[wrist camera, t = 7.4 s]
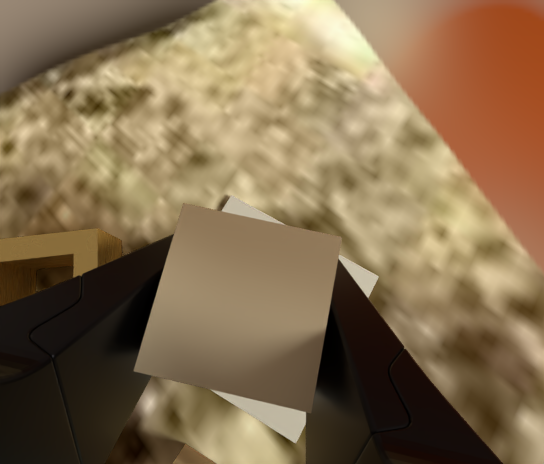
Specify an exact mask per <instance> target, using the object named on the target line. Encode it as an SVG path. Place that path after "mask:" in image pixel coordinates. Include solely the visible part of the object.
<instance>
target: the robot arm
mask: <svg viewBox="0 0 544 464" xmlns="http://www.w3.org/2000/svg"><path fill="white" fill-rule="evenodd" d="M173 236H174V234H173V235H170V236H168V237H166V238H163V239H161V240H159V241H157V242H154V243H152V244H150V245H147V246H145V247H143V248H140V249H138V250H136V251H134V252H131V253H129V254H127V255H124V256H122V257H120V258H117V259H115V260H113V261H111V262H108V263H106V264H104V265H101V266H99V267H97V268H94V269H92V270H90V271H87V272H85V273H83V274H82V277H81V275H78V276H76V277H73V278H71V279H69V280H67V281H64V282H62V283H59V284H57V285H55V286H52V287H50V288H47V289H45V290H42V291H40V292H37V293H35V294H32V295H29V296H27V297H24V298H21V299H18V300H16V301H13V302H10V303H8V304H5V305H2V306H0V464H105V462H106V460H107V458H108V456H109V454H110V453H111V451H112V449H113V447H114V445H115V443H116V441H117V440H118V438H119V436H120V434H121V432H122V430H123V428H124V427H125V425H126V423H127V421H128V419H129V417H130V415H131V413H132V412H133V410H134V408H135V406H136V404H137V402H138V400H139V399H140V397H141V395H142V393H143V391H144V389H145V387H146V386H147V384H148V382H149V380H150V378H151V376H152V375H147V374H143V373H139V372H135V371H134V367H135V364H136V361H137V357H138V354H139V351H140V347H141V344H142V340H143V337H144V334H145V330H146V327H147V324H148V320H149V317H150V313H151V310H152V307H153V303H154V300H155V297H156V293H157V290H158V286H159V283H160V280H161V276H162V273H163V270H164V266H165V263H166V259H167V256H168V253H169V249H170V246H171V243H172V239H173ZM306 464H503V463H502V462H501V460H500V459H499V458H498V457H497V456H496V455H495V454H494V453H493V451H492V450H491V449H490V448H489V447H488V446H487V445H486V444H485V442H484V441H483V440H482V439H481V438H480V437H479V436H478V435H477V433H476V432H475V431H474V430H473V429H472V428H471V427H470V426H469V424H468V423H467V422H466V421H465V420H464V419H463V418H462V417H461V415H460V414H459V413H458V412H457V411H456V410H455V409H454V408H453V406H452V405H451V404H450V403H449V402H448V401H447V399H446V398H445V397H444V396H443V395H442V394H441V392H440V391H439V390H438V389H437V388H436V387H435V385H434V384H433V383H432V382H431V381H430V379H429V378H428V377H427V376H426V374H425V373H424V372H423V370H422V369H421V368H420V367H419V365H418V364H417V363H416V361H415V360H414V359H413V357H412V356H411V355H410V353H409V352H408V351H407V350H406V349H404V346H403V344H402V343H401V342H400V340H399V339H398V338H397V336H396V335H395V334H394V332H393V331H392V329H391V328H390V327H389V325H388V324H387V323H386V321H385V320H384V319H383V317H382V316H381V315H380V313H379V312H378V311H377V309H376V308H375V307H374V305H373V304H372V303H371V301H370V300H369V299H368V297H367V296H366V295H365V293H364V292H363V291H362V289H361V288H360V287H359V285H358V284H357V282H356V281H355V280H354V278H353V277H352V276H351V274H350V273H349V272H348V270H347V269H346V268H345V266H344V265H343V264H342V262H341V261H340V260H339V258H338V263H337V269H336V275H335V280H334V286H333V292H332V297H331V303H330V309H329V314H328V320H327V326H326V331H325V337H324V343H323V348H322V354H321V360H320V366H319V371H318V377H317V383H316V388H315V394H314V400H313V405H312V411H311V413H308V412H306Z"/></svg>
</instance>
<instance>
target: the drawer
mask: <svg viewBox="0 0 544 464" xmlns="http://www.w3.org/2000/svg"><path fill="white" fill-rule="evenodd" d="M173 464H216V463H214V462H213V461H211V460H210V459H208V458H207V457H205V456H203V455H202V454H200V453H199V452H197V451H196V450H194V449H193V448H191V447H190V446H188V445H187V444H185V445H184V447H183V448H182V450H181V451H180V453H179V454H178V456H177V457H176V459H175V461H174V462H173Z"/></svg>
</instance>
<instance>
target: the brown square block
mask: <svg viewBox="0 0 544 464" xmlns="http://www.w3.org/2000/svg"><path fill="white" fill-rule="evenodd" d="M341 240H342V237H339V236H334V235H329V234H325V233H320V232H315V231H311V230H306V229H302V228H297V227H292V226H288V225H283V224H278V223H274V222H269V221H264V220H260V219H255V218H250V217H246V216H241V215H236V214H232V213H227V212H223V211H218V210H213V209H209V208H204V207H199V206H195V205H190V204H185V203H183V205H182V209H181V212H180V216H179V219H178V222H177V226H176V229H175V232H174V236H173V239H172V243H171V246H170V249H169V253H168V256H167V259H166V263H165V266H164V270H163V273H162V276H161V280H160V283H159V286H158V290H157V293H156V297H155V300H154V303H153V307H152V310H151V313H150V317H149V320H148V324H147V327H146V330H145V334H144V337H143V340H142V344H141V347H140V351H139V354H138V357H137V361H136V364H135V367H134V371H135V372H139V373H143V374H147V375H152V376H156V377H160V378H164V379H168V380H173V381H177V382H181V383H185V384H189V385H194V386H198V387H202V388H206V389H211V390H215V391H219V392H223V393H227V394H232V395H236V396H240V397H244V398H249V399H253V400H257V401H261V402H265V403H270V404H274V405H278V406H282V407H286V408H291V409H295V410H299V411H303V412H308V413H311V411H312V405H313V400H314V394H315V388H316V383H317V377H318V371H319V366H320V360H321V354H322V348H323V343H324V337H325V331H326V326H327V320H328V314H329V309H330V303H331V297H332V292H333V286H334V280H335V275H336V269H337V263H338V257H339V252H340V246H341Z"/></svg>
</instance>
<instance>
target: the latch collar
mask: <svg viewBox="0 0 544 464" xmlns="http://www.w3.org/2000/svg"><path fill="white" fill-rule="evenodd" d="M120 257H122V240H120V239H118V238H116V237H114V236H112V235H110V234H108V233H106V232H104V231H102V230H100V229H98V228H95V229H86V230H77V231H68V232H59V233H50V234H41V235H32V236H23V237H14V238H4V239H0V306H2V305H5V304H8V303H10V302H13V301H16V300H18V299H21V298H24V297H27V296H29V295H32V294H35V291H36V270H37V269H46V268H55V267H64V266H73V265H74V270H73V277H76V276H78V275H81V277H82V274H83V273H85V272H87V271H90V270H92V269H94V268H97V267H99V266H101V265H104V264H106V263H108V262H111V261H113V260H115V259H117V258H120Z"/></svg>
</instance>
